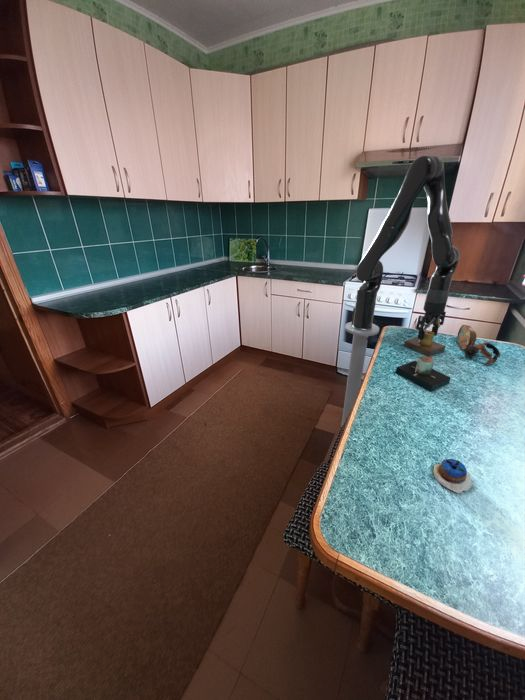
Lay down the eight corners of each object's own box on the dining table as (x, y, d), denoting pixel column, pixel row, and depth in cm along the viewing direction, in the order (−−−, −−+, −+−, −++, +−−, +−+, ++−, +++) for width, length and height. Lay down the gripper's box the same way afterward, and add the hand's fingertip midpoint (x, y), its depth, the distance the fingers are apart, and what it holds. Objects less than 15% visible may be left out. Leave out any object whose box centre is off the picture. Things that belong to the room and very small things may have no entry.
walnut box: (403, 345, 128) (405, 340, 126) (418, 341, 132) (420, 335, 131) (428, 356, 118) (430, 351, 117) (444, 351, 122) (445, 345, 121)
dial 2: (424, 377, 100) (428, 363, 97) (412, 370, 104) (415, 357, 101) (434, 373, 102) (437, 360, 100) (421, 367, 106) (424, 354, 103)
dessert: (439, 455, 71) (460, 449, 66) (460, 479, 69) (483, 475, 65) (424, 474, 67) (445, 470, 62) (446, 501, 65) (469, 498, 60)
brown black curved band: (478, 353, 121) (495, 341, 114) (488, 372, 115) (507, 361, 109) (453, 348, 118) (470, 336, 112) (463, 367, 113) (480, 355, 106)
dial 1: (415, 342, 125) (418, 330, 122) (423, 339, 127) (426, 328, 124) (426, 346, 121) (429, 335, 118) (434, 344, 123) (437, 332, 120)
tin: (455, 338, 133) (460, 321, 129) (463, 339, 132) (469, 322, 128) (463, 353, 120) (470, 334, 117) (472, 354, 119) (479, 335, 116)
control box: (395, 372, 107) (396, 366, 106) (413, 366, 112) (415, 360, 110) (430, 391, 96) (432, 385, 95) (449, 383, 100) (451, 377, 99)
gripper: (438, 294, 121) (429, 330, 128) (415, 300, 115) (407, 337, 122) (456, 299, 115) (446, 336, 122) (433, 304, 109) (423, 343, 116)
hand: (427, 337), depth 122 cm, fingers open, 8 cm apart
